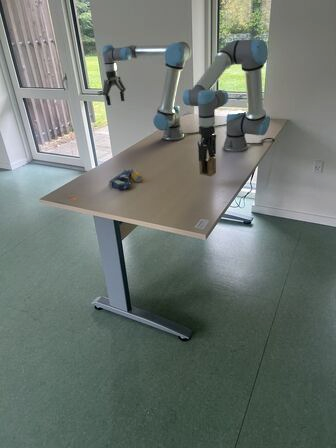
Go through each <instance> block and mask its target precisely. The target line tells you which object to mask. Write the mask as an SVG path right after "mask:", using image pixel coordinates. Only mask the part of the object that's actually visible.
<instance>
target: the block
mask: <svg viewBox="0 0 336 448" xmlns="http://www.w3.org/2000/svg"><path fill="white" fill-rule="evenodd" d="M206 161H207V174H206V173H202V161H199V160H198V165H199V175H203V176H207V177H213V176H214V175H216V174H217V158H216V157H210V156H209V157H208V156H207V158H206Z"/></svg>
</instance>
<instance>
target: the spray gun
mask: <svg viewBox="0 0 336 448" xmlns="http://www.w3.org/2000/svg"><path fill="white" fill-rule="evenodd" d="M131 179H132V180H133V181H135V183H141V182H142V180H143V175H141V174H140V173H139V172H137V171H134V169H133V168H130V169H123V171H121V172H120V173H119V174H117V175H116V176H115V177H113V178H112V179H110V180H109V181H108V186H109V187H111V188H116V189H117V190H120V191H121V190H126V189H128V188H129V187H131V185H132V184H131V182H130V180H131Z"/></svg>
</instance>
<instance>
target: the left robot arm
mask: <svg viewBox="0 0 336 448" xmlns="http://www.w3.org/2000/svg"><path fill="white" fill-rule="evenodd" d="M101 50H102V57H103V63H104V69H105V70H104V71H105V75H106V78H107V79H103V89H102V96H105V101H106V104H107V105H106V106H112V103H111V96H110V91H111V89H112V87H113V86H116V87H117V88H118V90H119V95H120V102H125V91H126V88H127V87H126V86H125V84H124V83H123V81H122V78H121V76H118V71H117V64H116V62H119V61H120V62H121V61H122V62H123V61H124V62H126V61H130V60H131V59H164V61H165V68H166V71H165V78H164V84H163V89H162V90H163V91H162V95H161V101H160V105H159V106H158V107H157V110H156V114H155V115H154V117H153V118H152V119H153V120H152V123H153V126H154V127H155V128H156V129H157V130H158V131H163V135H162V139H163V140H164V141H167V142H176V141H180V140H182V139H184V137H185V135H194V134H195V135H196V134H199V131H194V132H183V129H182V126H181V110H180V106H179V105H175V99H176V96H177V90H178V85H179V82H180V81H179V80H180V76H181V72H182V71H183V70H184V68H185V63H186V62H187V61H189V59H190V58H191V56H192V48H191V45H189V43H187V42H185V41H179V42H173V43H172V42H171V44H157V45H152V44H151V45H132V44H131V45H128V46H123V47H114V45H113V44H105V45H102V47H101ZM214 126H215V128H217V127H222V126H223V127H225V126H227V123H224V124H223V123H222V124H218V125H214Z"/></svg>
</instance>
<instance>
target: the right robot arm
mask: <svg viewBox="0 0 336 448" xmlns="http://www.w3.org/2000/svg"><path fill="white" fill-rule="evenodd" d="M268 49H269V48H268V45H267V43H266V41H265V40H263V39H259V38H258V39H257V38H252V39H236V40H232V41H230V42H228V43H227V44H226V45H224V46H223V47H222V48H221V49H220V50H219V51H218V52H217V53H216V55H215V56H214V60H213V62H212V63H211V64H210V65H209V67H208V68H207V69H206V71H205V72H204V73H203V74H202V75H201V77H200V78H199V80H198V81H197V82H196V83H195V85H194V86H193V88H189V89H185V90H184V91H183V94H182V101H183V104H184V105H185V106H191V107H197V109H198V132H199V133H198V134H199V135H200V136H201V137H200V141H197V147H198V162H199V161H202V173H206V174H207V161H206V158H207V157H213V158H216V155H217V154H216V153H217V140H216V139H217V134H215V132H216V127H215V126H216V125H215V124H216V117H215V116H216V115H215V114H216V112H215V111H216V110H217V109H218V108H221V107H223V106H225V105H226V104H227V103H228V102H229V94H228V92H227V91H226V90H225V89H222V88H221V89H217V90H213V87H214V86H215V84H216V83H217V82H218V80H219V79H220V78H221V77H222V75H223V74H224V73H225V71H226V70H228V69H230V67H231V66H233V65H234V66H235V65H241V70H242V71H243V73H244V79H245V89H246V90H245V91H246V102H247V103H246V105H247V112H246V110H236V111H235V110H234V111H231V112H229V113H227V114H226V121H225V122H226V124H227V125H226V131H225V133H226V136H225V140H224V142H223V150H224V151H226V152H231V153H238V152H243V151H246V150H247V149H248V145H262V144H263V142H264V141H266V140H272V141H275V139H274V138H273V137H266V138H262V139H261V140H260V142H247V139H246V135H253V136H264V135H266V133H267V132H268V131H269V127H270V125H271V117H270V115H267V111H266V110H265V109H264V100H263V79H262V78H263V77H262V69H263V68H264V67H265V64H266V63H267V61H268V56H269V50H268Z"/></svg>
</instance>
